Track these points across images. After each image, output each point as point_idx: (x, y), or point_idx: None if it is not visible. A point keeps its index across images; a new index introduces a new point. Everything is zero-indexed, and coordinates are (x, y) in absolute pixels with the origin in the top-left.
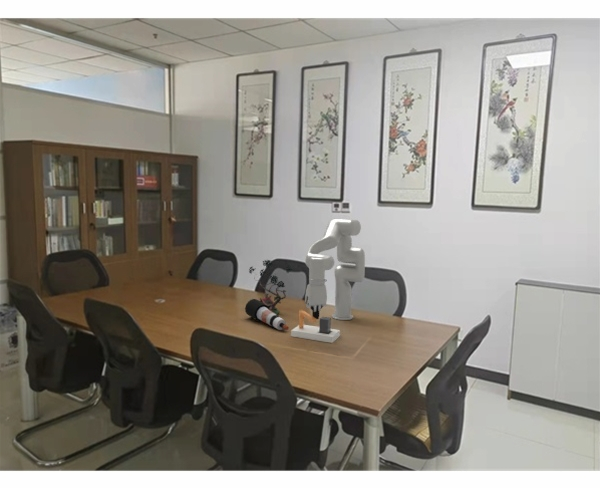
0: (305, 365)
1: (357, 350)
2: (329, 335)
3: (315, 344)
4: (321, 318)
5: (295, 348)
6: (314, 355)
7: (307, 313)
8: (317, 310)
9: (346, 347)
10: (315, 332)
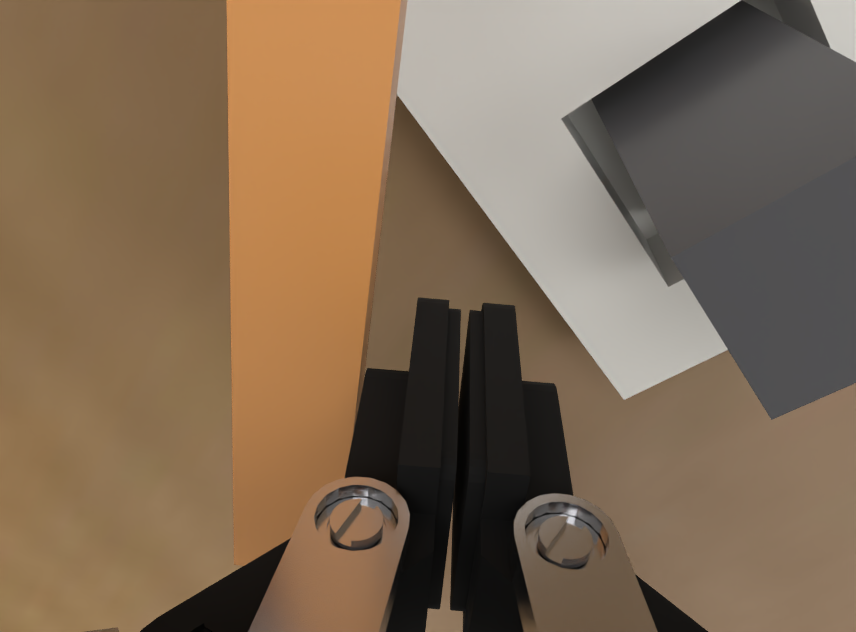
0: (53, 585)
1: (711, 549)
2: (633, 337)
3: (412, 221)
4: (729, 259)
5: (79, 225)
6: (222, 473)
7: (369, 27)
8: (476, 620)
9: (685, 455)
10: (529, 102)
